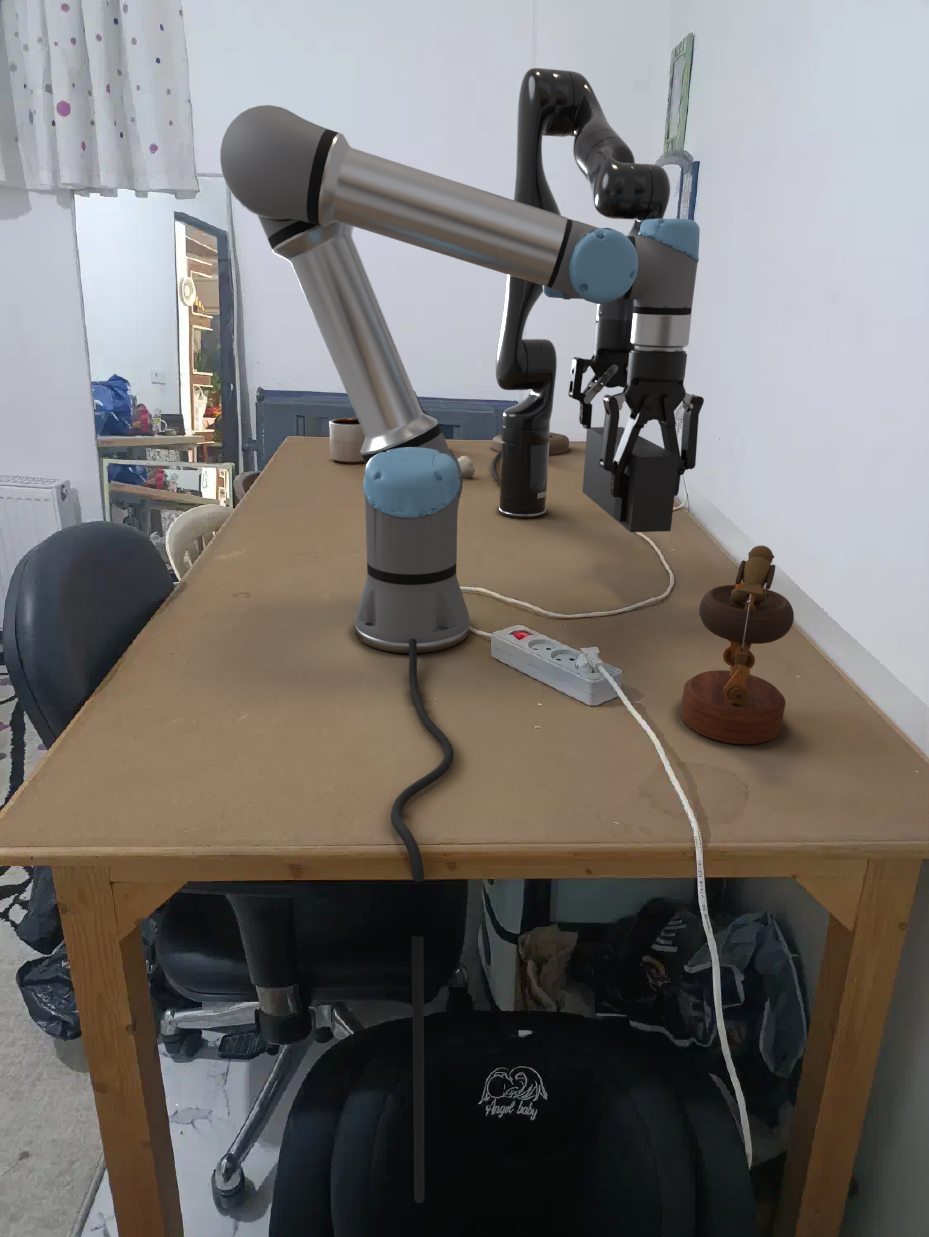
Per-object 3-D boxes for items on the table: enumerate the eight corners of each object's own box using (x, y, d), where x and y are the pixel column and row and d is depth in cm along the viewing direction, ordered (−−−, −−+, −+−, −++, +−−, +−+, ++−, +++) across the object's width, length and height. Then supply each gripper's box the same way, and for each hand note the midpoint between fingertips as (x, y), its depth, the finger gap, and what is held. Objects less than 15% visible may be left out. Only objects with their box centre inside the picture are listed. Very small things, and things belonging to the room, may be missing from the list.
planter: (327, 456, 217) (325, 418, 214) (369, 454, 220) (368, 417, 217) (334, 465, 208) (332, 425, 204) (377, 463, 211) (376, 424, 207)
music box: (801, 756, 85) (818, 567, 77) (689, 756, 86) (695, 570, 79) (768, 687, 99) (780, 521, 91) (672, 688, 100) (676, 525, 93)
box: (670, 531, 117) (679, 456, 113) (630, 532, 117) (637, 456, 113) (616, 491, 139) (622, 427, 135) (582, 492, 138) (587, 427, 134)
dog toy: (471, 473, 201) (471, 452, 199) (475, 479, 196) (476, 458, 194) (386, 475, 198) (386, 454, 196) (388, 481, 193) (388, 459, 191)
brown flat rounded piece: (498, 464, 212) (499, 447, 210) (490, 443, 238) (490, 428, 236) (581, 464, 213) (583, 447, 211) (564, 443, 239) (565, 428, 237)
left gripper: (713, 346, 116) (693, 510, 125) (581, 345, 113) (570, 513, 122) (738, 351, 109) (715, 524, 118) (598, 350, 107) (585, 527, 115)
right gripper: (658, 315, 129) (648, 423, 135) (568, 314, 127) (561, 424, 133) (677, 318, 122) (665, 431, 128) (582, 317, 120) (575, 432, 126)
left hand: (641, 518), depth 120 cm, fingers closed on box, 6 cm apart
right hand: (612, 427), depth 130 cm, fingers open, 8 cm apart
